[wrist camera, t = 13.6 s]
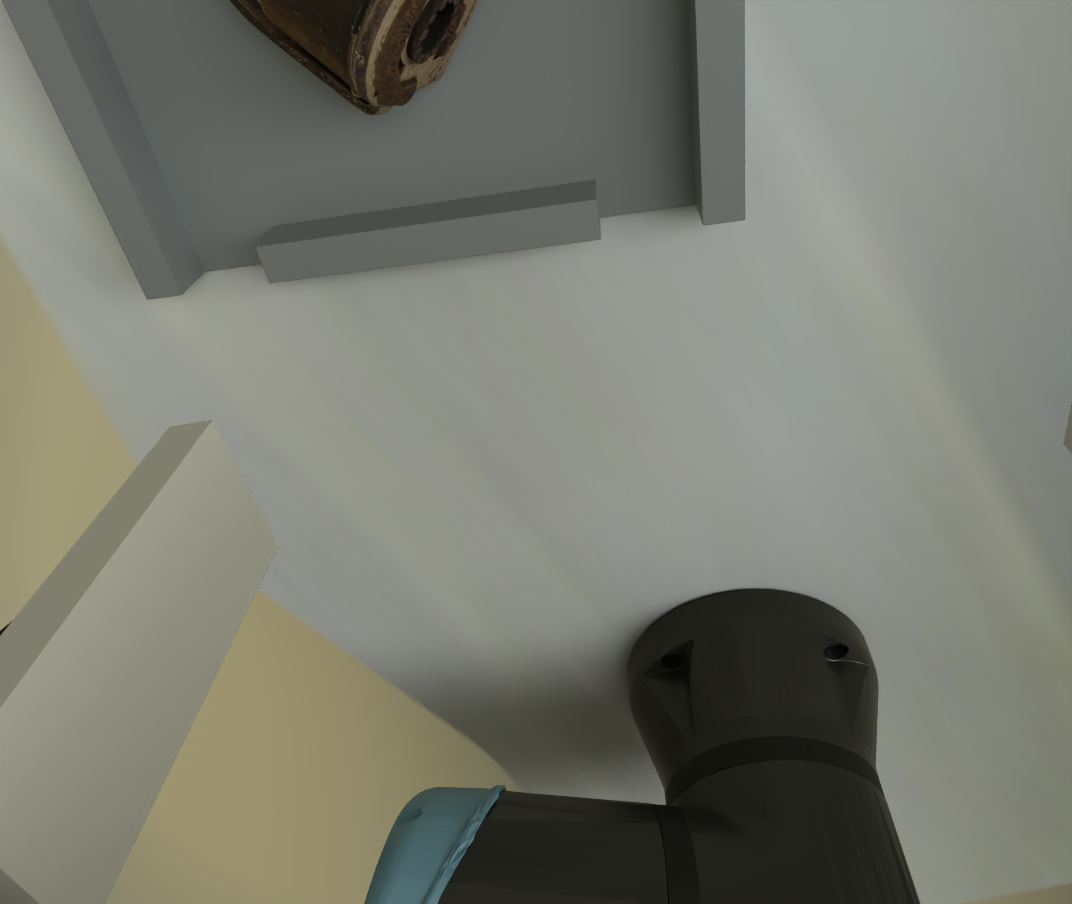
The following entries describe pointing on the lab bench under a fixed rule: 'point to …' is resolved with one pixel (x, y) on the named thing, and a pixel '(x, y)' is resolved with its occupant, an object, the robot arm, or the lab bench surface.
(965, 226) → the lab bench surface
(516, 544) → the lab bench surface
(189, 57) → the dock
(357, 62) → the bucket with arched handle
